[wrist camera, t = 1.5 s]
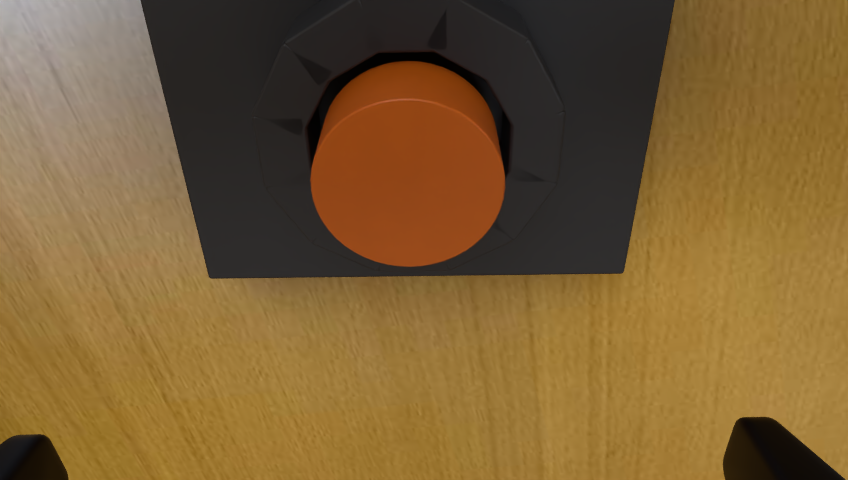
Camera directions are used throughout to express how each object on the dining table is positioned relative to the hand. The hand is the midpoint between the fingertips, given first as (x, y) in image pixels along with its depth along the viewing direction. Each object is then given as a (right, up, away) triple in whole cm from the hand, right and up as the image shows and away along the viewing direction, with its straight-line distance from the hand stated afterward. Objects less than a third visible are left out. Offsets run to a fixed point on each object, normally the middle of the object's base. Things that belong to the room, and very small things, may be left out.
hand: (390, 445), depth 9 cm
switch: (0, +5, +7) cm, 8 cm away
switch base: (0, +7, +10) cm, 12 cm away
